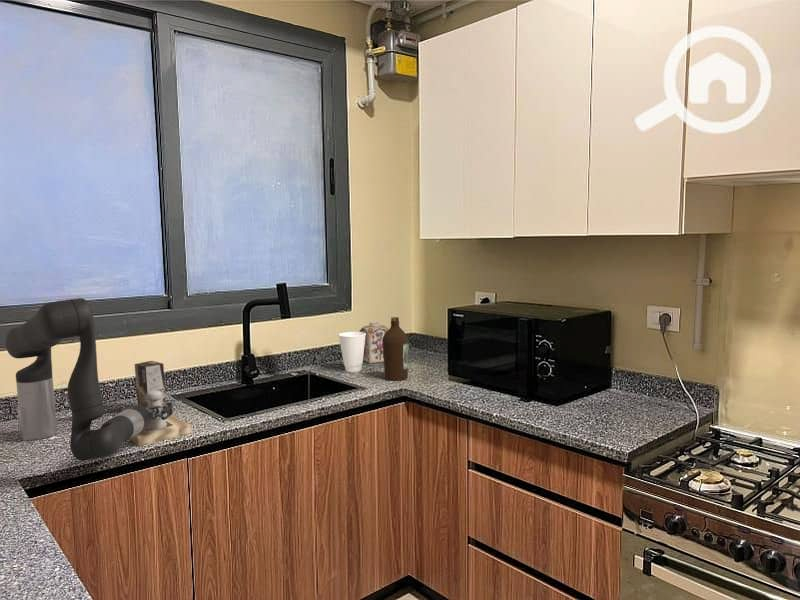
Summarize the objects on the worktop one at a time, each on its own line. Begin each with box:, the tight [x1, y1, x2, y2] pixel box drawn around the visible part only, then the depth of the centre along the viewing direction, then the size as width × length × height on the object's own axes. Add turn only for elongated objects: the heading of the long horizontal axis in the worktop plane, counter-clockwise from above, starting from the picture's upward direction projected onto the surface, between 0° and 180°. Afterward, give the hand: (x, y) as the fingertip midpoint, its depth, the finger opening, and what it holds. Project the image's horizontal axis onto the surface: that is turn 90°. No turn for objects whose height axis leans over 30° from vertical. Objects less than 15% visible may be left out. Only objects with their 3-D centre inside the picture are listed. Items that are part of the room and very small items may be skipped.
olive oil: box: [382, 316, 410, 382], centre depth 233 cm, size 11×11×25 cm
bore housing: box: [129, 414, 192, 447], centre depth 172 cm, size 15×15×2 cm
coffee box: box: [134, 360, 167, 406], centre depth 197 cm, size 9×6×16 cm
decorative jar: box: [358, 321, 390, 364], centre depth 270 cm, size 12×12×18 cm
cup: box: [338, 331, 366, 373], centre depth 250 cm, size 12×12×16 cm
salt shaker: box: [146, 390, 167, 431], centre depth 172 cm, size 6×6×13 cm
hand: (158, 405), depth 174 cm, fingers open, 7 cm apart
